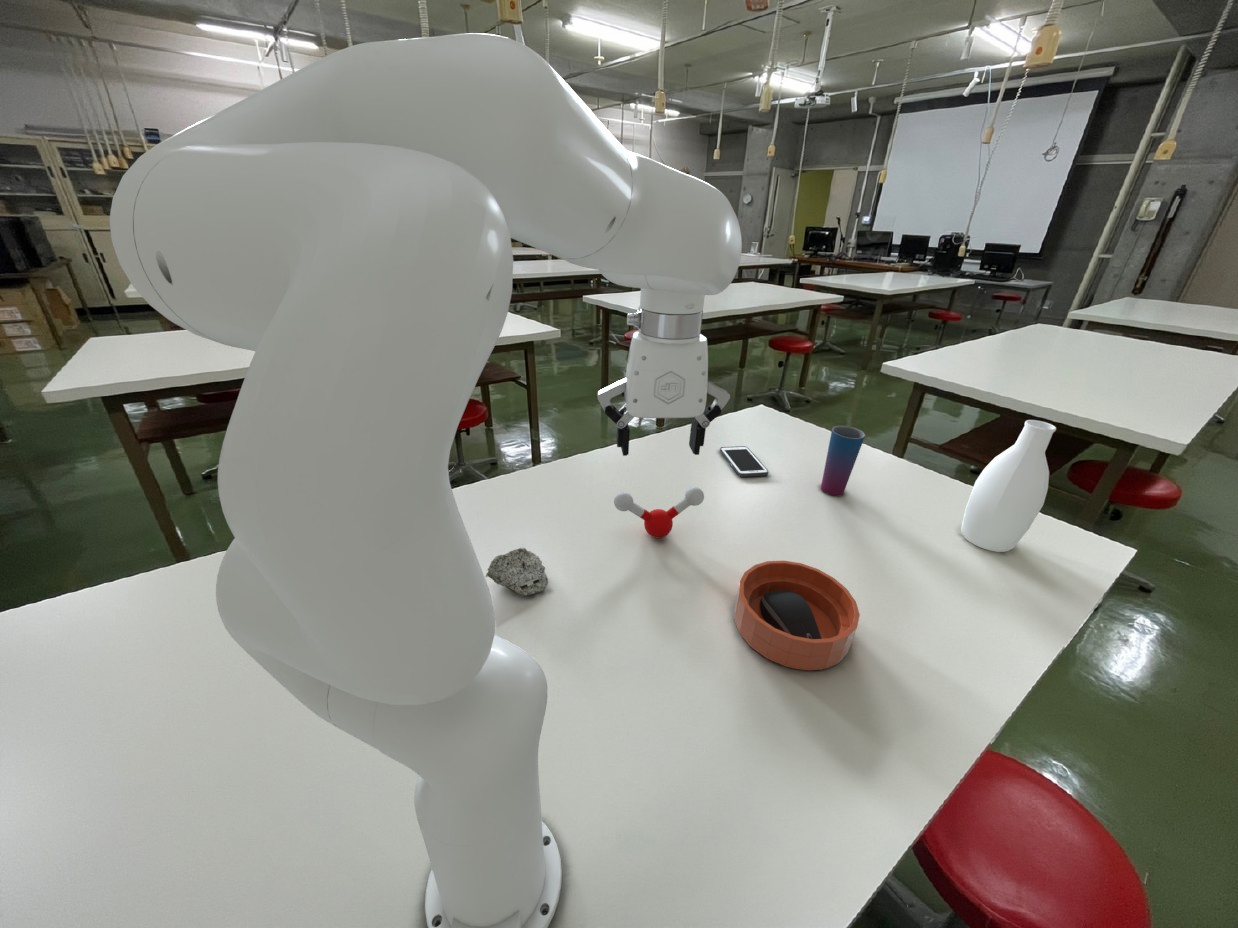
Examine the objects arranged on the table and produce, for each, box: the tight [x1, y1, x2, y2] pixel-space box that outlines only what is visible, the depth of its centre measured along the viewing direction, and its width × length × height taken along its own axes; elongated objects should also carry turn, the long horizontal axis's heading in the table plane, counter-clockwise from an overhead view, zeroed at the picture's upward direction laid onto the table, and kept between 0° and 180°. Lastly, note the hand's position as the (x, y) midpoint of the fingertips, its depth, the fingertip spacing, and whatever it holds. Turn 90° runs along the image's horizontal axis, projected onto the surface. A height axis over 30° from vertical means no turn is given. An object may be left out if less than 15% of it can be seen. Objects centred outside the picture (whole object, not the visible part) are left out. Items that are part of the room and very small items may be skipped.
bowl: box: [733, 560, 861, 671], centre depth 77 cm, size 17×17×6 cm
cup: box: [820, 425, 866, 497], centre depth 113 cm, size 7×7×15 cm
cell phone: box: [719, 445, 769, 478], centre depth 126 cm, size 8×15×1 cm, turn 10°
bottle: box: [960, 419, 1057, 553], centre depth 95 cm, size 11×11×25 cm
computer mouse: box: [760, 590, 822, 639], centre depth 77 cm, size 7×12×4 cm, turn 16°
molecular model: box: [613, 486, 705, 539], centre depth 96 cm, size 18×6×10 cm, turn 107°
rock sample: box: [485, 547, 549, 596], centre depth 84 cm, size 10×8×9 cm
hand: (659, 450), depth 68 cm, fingers open, 9 cm apart
